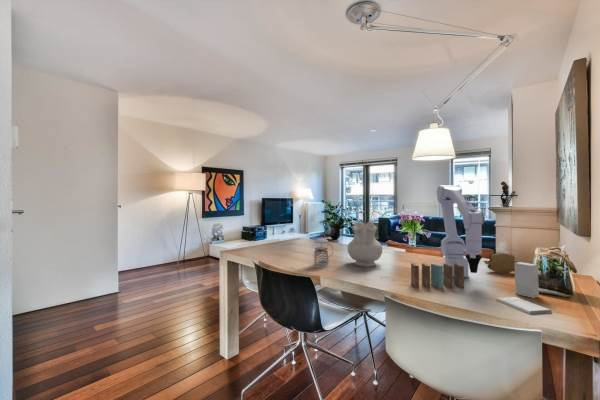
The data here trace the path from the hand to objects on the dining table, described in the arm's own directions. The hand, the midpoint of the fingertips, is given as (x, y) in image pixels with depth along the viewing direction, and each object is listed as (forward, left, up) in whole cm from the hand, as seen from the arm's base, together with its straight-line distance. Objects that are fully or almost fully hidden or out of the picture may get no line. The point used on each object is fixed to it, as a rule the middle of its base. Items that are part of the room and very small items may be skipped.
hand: (473, 272), depth 117 cm
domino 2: (+20, 0, -6) cm, 20 cm away
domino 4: (+10, 0, -6) cm, 12 cm away
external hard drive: (-5, +21, -7) cm, 23 cm away
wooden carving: (-26, -25, -6) cm, 37 cm away
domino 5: (+6, 0, -6) cm, 8 cm away
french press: (+63, -34, -6) cm, 72 cm away
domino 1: (+24, 0, -6) cm, 25 cm away
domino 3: (+15, 0, -6) cm, 16 cm away
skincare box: (-14, +10, -6) cm, 18 cm away
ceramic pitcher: (+39, -38, -6) cm, 55 cm away
